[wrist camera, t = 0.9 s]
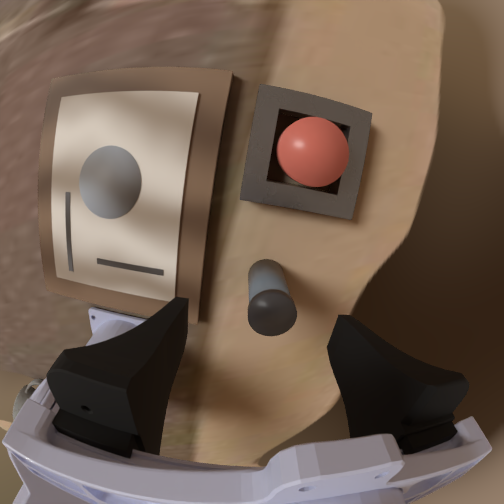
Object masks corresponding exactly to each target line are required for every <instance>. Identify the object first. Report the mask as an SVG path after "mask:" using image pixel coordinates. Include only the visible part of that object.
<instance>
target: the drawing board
mask: <svg viewBox="0 0 504 504" xmlns="http://www.w3.org/2000/svg"><path fill="white" fill-rule="evenodd" d="M232 79H233V71H229V70H219V69H208V68H191V67H139V68H123V69H111V70H102V71H94V72H87V73H80V74H74V75H69V76H64V77H59V78H54V79H52V80H51V84H50V88H49V93H48V98H47V103H46V108H45V114H44V120H43V127H42V135H41V144H40V155H39V170H38V220H39V236H40V247H41V256H42V264H43V271H44V278H45V284H46V289H47V291H51V292H54V293H57V294H61V295H64V296H68V297H71V298H75V299H79V300H82V301H86V302H90V303H94V304H98V305H102V306H106V307H110V308H114V309H119V310H123V311H128V312H132V313H137V314H142V315H146V316H153V315H154V314H155V313H156V312H158V311H159V310H160V309H162V308H163V307H164V306H165V305H166V304H167V303H169V302H170V301H171V300H172V299H173V298H175V297H182V298H189V307H188V323H190V324H196V325H197V324H198V320H199V311H200V300H201V289H202V279H203V269H204V260H205V251H206V242H207V234H208V226H209V218H210V211H211V203H212V196H213V189H214V182H215V175H216V169H217V162H218V156H219V150H220V144H221V138H222V132H223V126H224V121H225V115H226V110H227V104H228V99H229V94H230V89H231V84H232Z"/></svg>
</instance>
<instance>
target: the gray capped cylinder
mask: <svg viewBox="0 0 504 504" xmlns="http://www.w3.org/2000/svg"><path fill="white" fill-rule="evenodd" d="M248 281H249V305H248V322H249V324H250V326H251V327H252V329H253V330H254V331H256V332H257V333H259V334H261V335H265V336H277V335H280V334H283V333H285V332H287V331H288V330H289V329H290V328H291V327H292V326H293V325H294V323H295V321H296V318H297V311H296V307H295V304H294V301H293V299H292V298H291V296H290V293H289V290H288V287H287V283H286V280H285V277H284V274H283V271H282V268H281V266H280V265H279V264H278V263H277V262H275V261H273V260H269V259H264V260H260V261H257V262H256V263H254V264H253V265H252V266H251V268H250V270H249V273H248Z"/></svg>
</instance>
